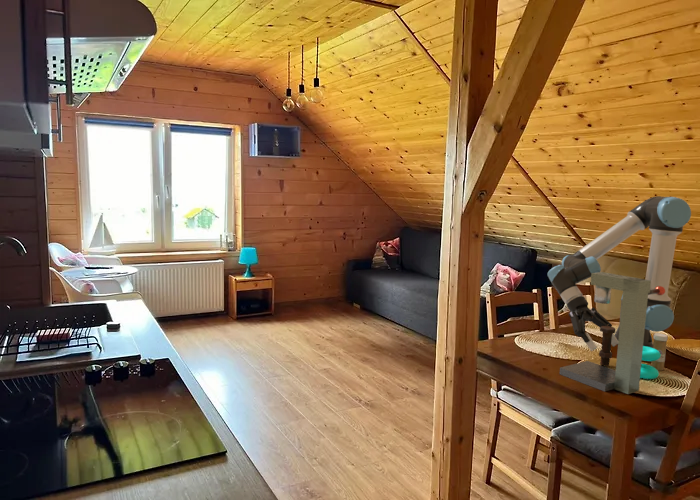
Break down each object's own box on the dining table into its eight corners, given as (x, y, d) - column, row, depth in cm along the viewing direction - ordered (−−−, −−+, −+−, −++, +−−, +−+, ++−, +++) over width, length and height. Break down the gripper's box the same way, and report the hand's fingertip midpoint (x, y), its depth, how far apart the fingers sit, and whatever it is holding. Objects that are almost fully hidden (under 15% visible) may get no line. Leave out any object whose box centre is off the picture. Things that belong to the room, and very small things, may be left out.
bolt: (611, 368, 199) (614, 330, 197) (596, 366, 201) (599, 328, 199) (612, 364, 204) (616, 326, 202) (598, 362, 206) (601, 324, 204)
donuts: (663, 348, 192) (658, 355, 185) (660, 375, 194) (655, 382, 186) (633, 343, 199) (626, 349, 191) (630, 368, 200) (624, 375, 192)
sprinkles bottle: (652, 370, 198) (655, 335, 197) (648, 366, 203) (652, 332, 201) (665, 371, 197) (669, 336, 196) (662, 367, 202) (665, 333, 200)
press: (559, 374, 192) (567, 271, 187) (600, 363, 204) (608, 267, 199) (620, 397, 172) (631, 283, 167) (661, 384, 184) (672, 277, 179)
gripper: (587, 302, 221) (618, 347, 210) (547, 308, 208) (577, 356, 197) (600, 292, 216) (632, 338, 205) (560, 297, 203) (591, 346, 192)
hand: (605, 347), depth 201 cm, fingers open, 13 cm apart
